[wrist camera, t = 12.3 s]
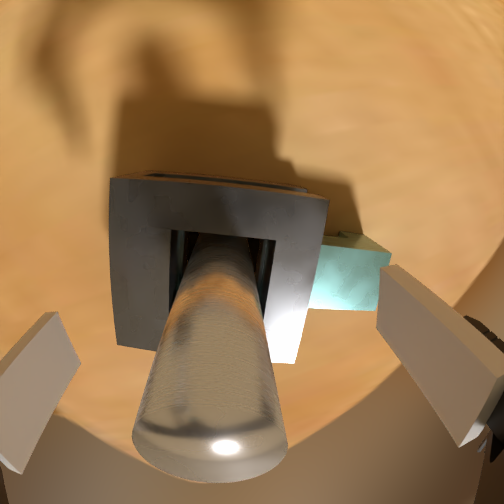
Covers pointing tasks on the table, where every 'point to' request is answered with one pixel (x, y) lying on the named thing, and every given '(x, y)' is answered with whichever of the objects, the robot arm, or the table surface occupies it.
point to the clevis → (236, 224)
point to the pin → (213, 375)
